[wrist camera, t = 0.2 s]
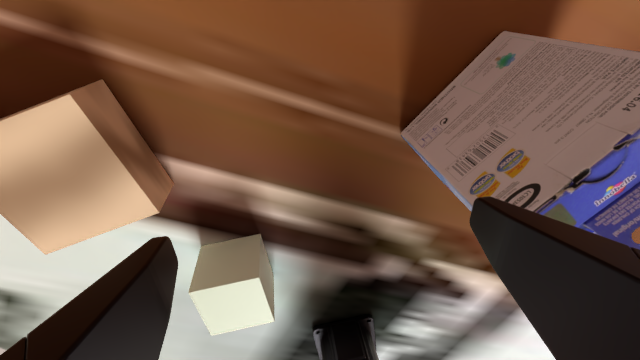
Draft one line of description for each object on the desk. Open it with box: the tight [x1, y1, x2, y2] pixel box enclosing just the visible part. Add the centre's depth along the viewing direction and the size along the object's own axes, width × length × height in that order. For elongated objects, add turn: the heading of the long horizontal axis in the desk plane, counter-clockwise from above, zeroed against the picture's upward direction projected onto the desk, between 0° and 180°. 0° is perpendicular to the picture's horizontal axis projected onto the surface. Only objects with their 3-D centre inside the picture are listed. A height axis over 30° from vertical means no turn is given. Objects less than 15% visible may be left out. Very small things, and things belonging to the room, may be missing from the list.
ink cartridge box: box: [401, 31, 640, 249], centre depth 18 cm, size 10×6×14 cm, turn 138°
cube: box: [189, 234, 274, 336], centre depth 26 cm, size 5×5×5 cm
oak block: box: [0, 79, 174, 255], centre depth 20 cm, size 8×8×4 cm
